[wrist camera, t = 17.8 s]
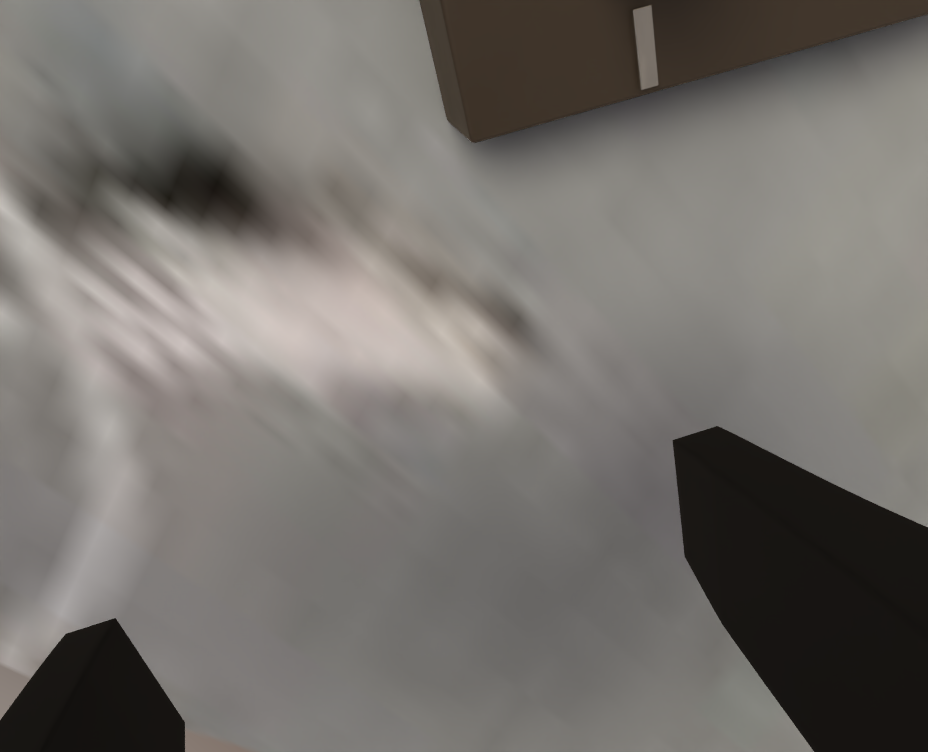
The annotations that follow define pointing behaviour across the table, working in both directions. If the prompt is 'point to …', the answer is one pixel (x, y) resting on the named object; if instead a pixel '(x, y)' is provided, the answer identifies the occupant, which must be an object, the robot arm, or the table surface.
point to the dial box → (615, 49)
